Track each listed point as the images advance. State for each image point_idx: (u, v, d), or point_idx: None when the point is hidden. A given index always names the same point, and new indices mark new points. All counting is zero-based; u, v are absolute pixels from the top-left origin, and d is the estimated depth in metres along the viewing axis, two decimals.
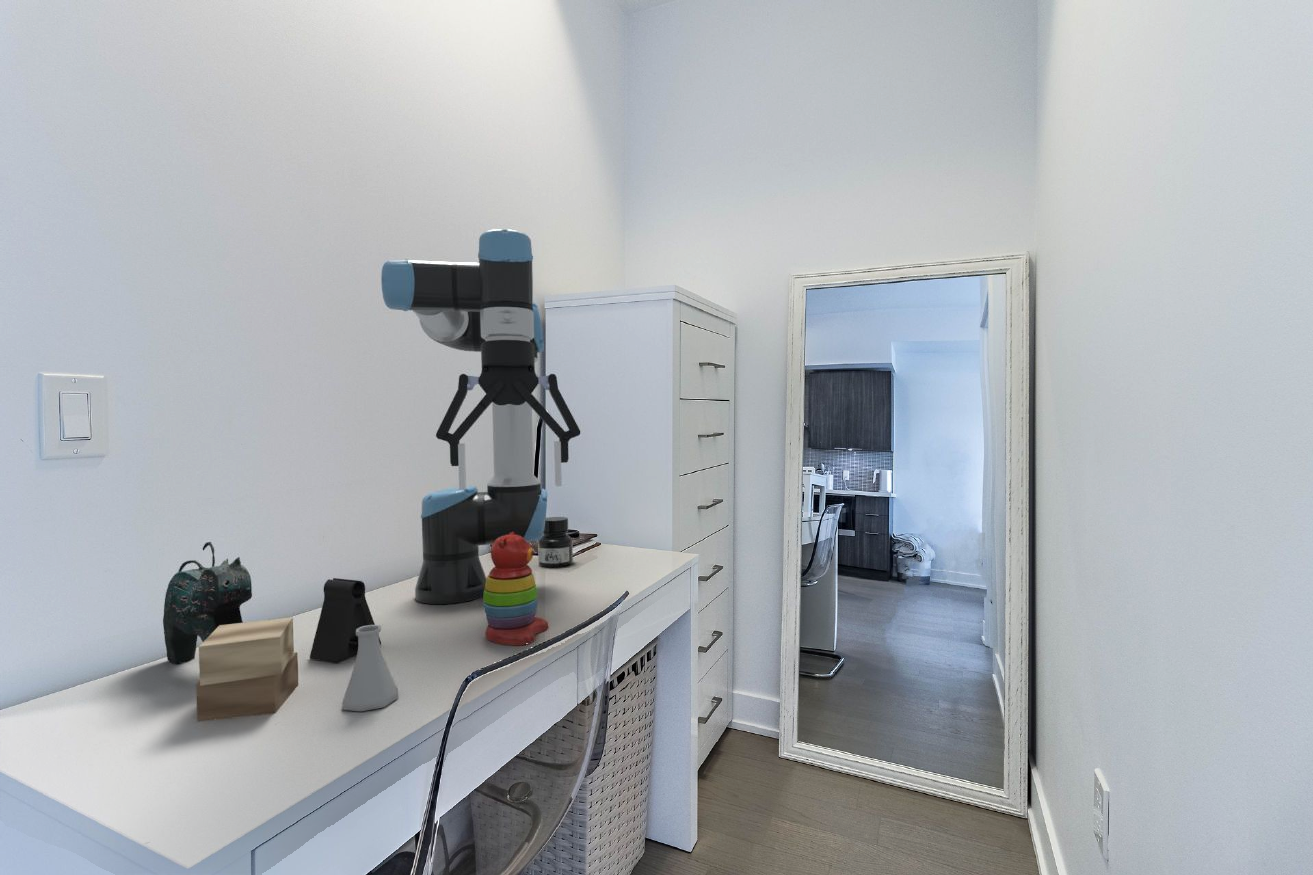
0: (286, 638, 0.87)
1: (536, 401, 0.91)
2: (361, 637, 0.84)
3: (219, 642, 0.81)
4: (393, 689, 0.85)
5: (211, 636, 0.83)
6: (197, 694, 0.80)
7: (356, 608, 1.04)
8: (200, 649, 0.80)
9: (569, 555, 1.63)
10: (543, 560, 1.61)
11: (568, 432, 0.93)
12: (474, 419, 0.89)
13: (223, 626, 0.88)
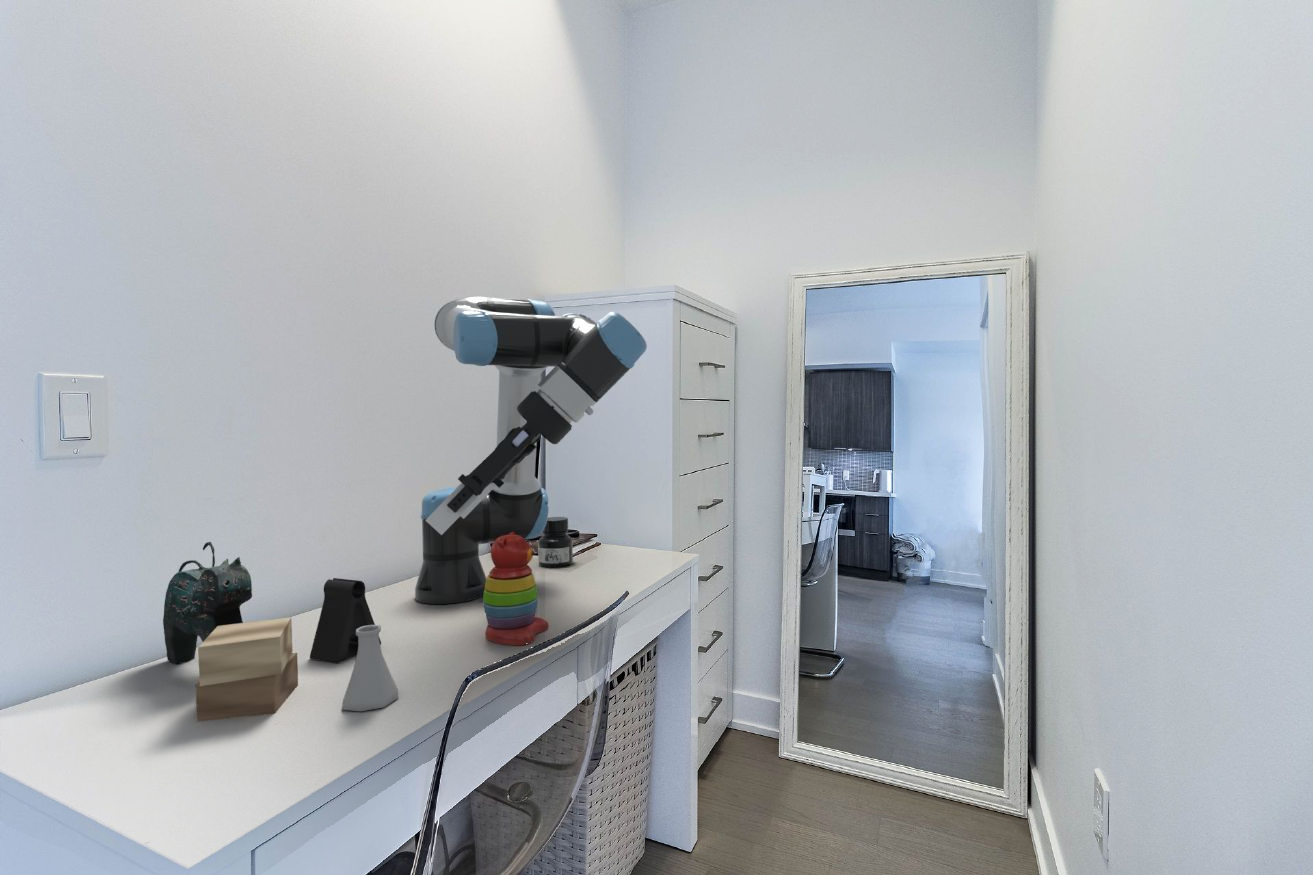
0: (285, 638, 0.87)
1: None
2: (361, 637, 0.84)
3: (218, 642, 0.81)
4: (393, 689, 0.85)
5: (210, 637, 0.83)
6: (197, 694, 0.80)
7: (357, 608, 1.04)
8: (200, 649, 0.80)
9: (569, 555, 1.63)
10: (543, 560, 1.61)
11: None
12: (498, 475, 0.81)
13: (221, 626, 0.87)
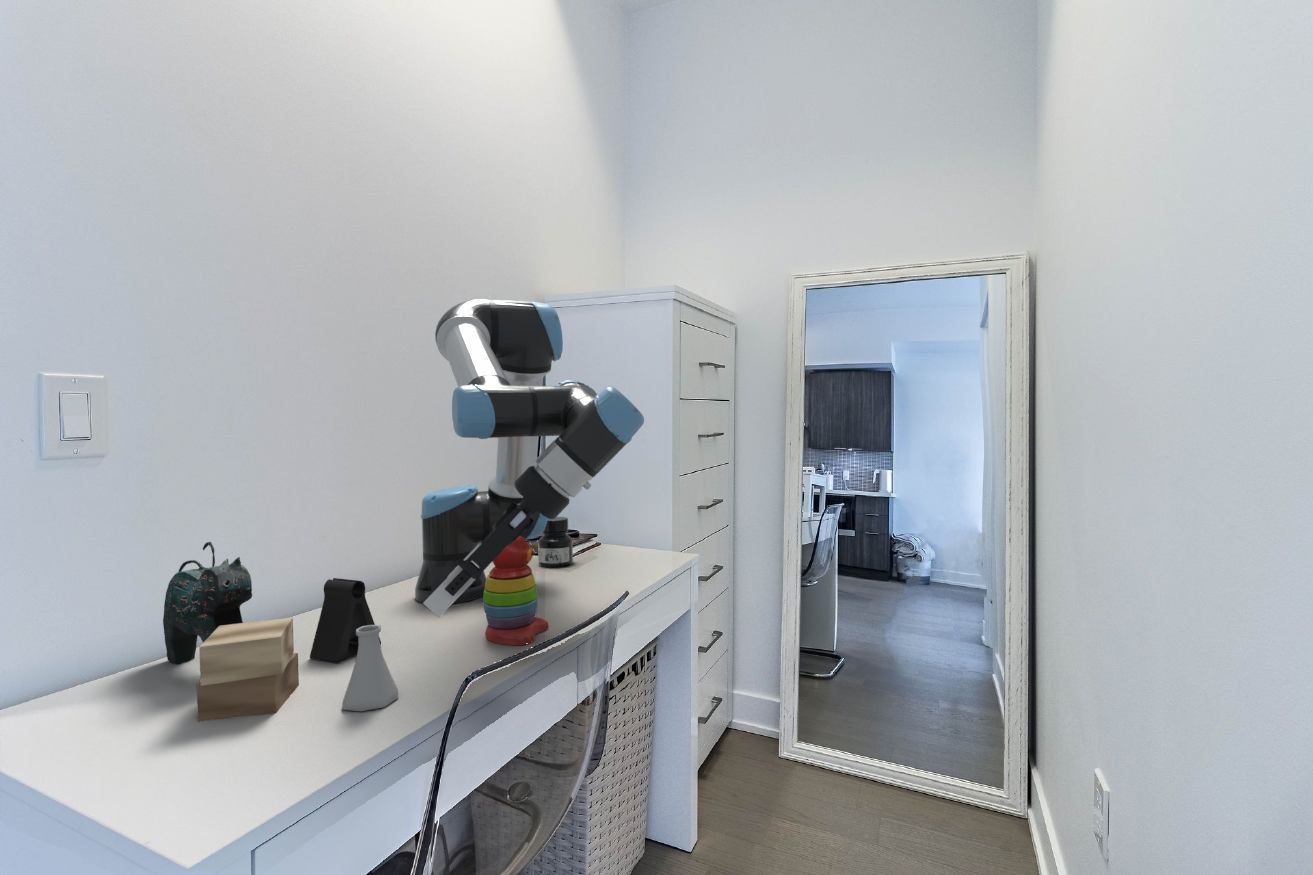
0: (286, 638, 0.87)
1: None
2: (361, 637, 0.84)
3: (219, 642, 0.81)
4: (393, 689, 0.85)
5: (211, 636, 0.84)
6: (198, 694, 0.80)
7: (357, 608, 1.04)
8: (201, 649, 0.80)
9: (569, 555, 1.63)
10: (543, 560, 1.61)
11: None
12: None
13: (223, 626, 0.88)
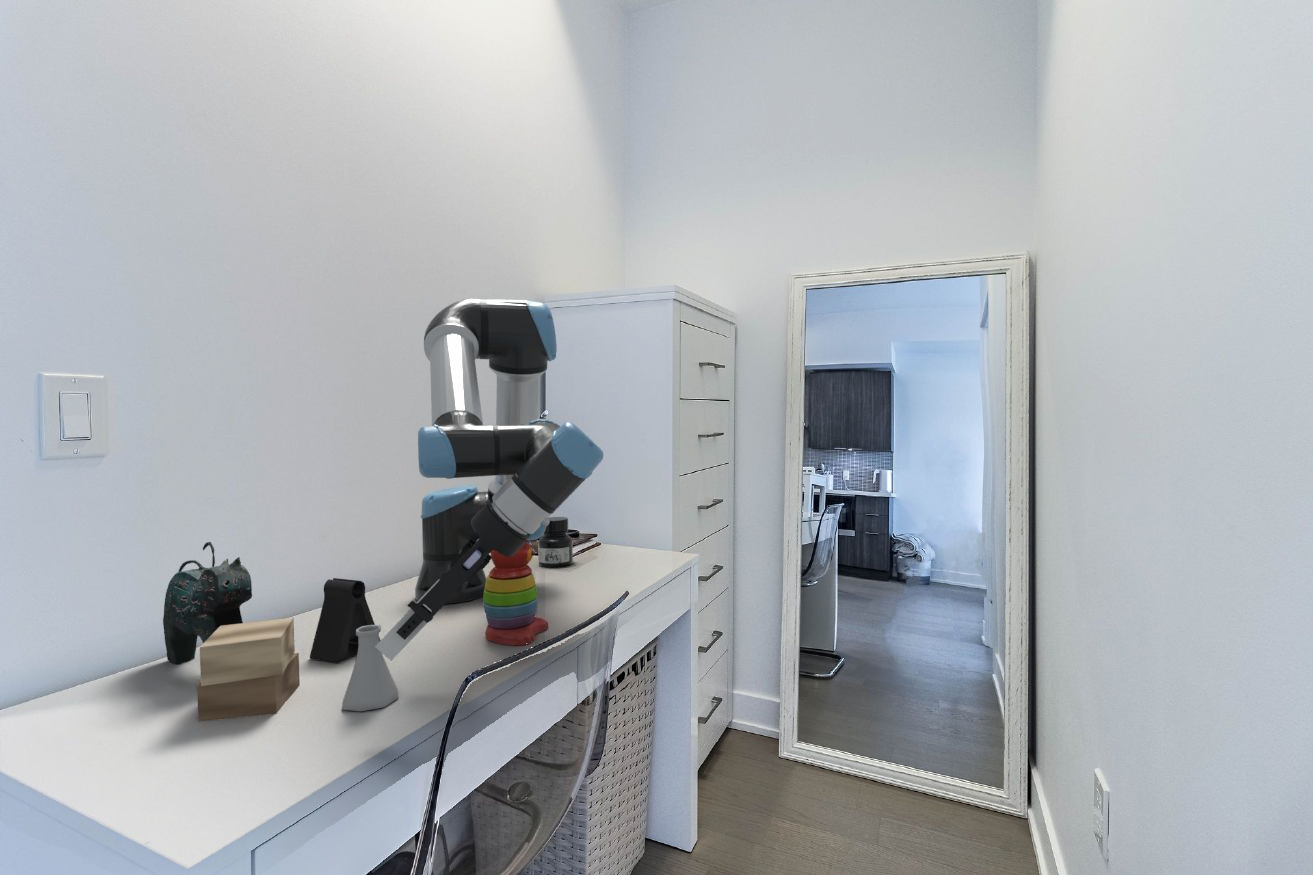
0: (287, 638, 0.87)
1: None
2: (361, 637, 0.84)
3: (220, 643, 0.81)
4: (393, 689, 0.85)
5: (212, 636, 0.83)
6: (198, 695, 0.80)
7: (356, 608, 1.04)
8: (201, 649, 0.80)
9: (569, 555, 1.63)
10: (543, 560, 1.62)
11: None
12: None
13: (224, 626, 0.88)
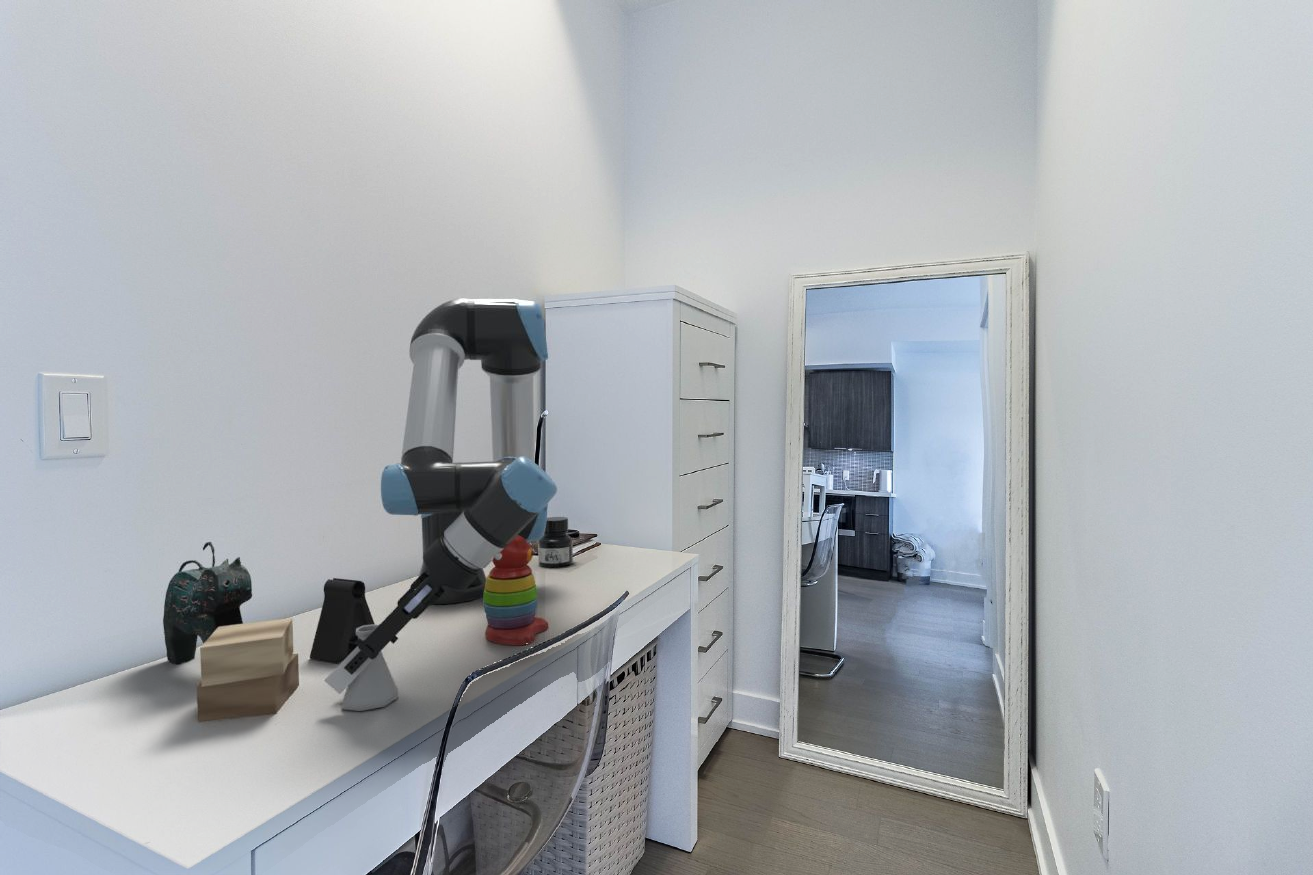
0: (287, 638, 0.87)
1: None
2: (361, 637, 0.84)
3: (220, 643, 0.81)
4: (393, 689, 0.85)
5: (211, 637, 0.83)
6: (198, 695, 0.80)
7: (357, 608, 1.04)
8: (202, 650, 0.80)
9: (569, 555, 1.63)
10: (543, 560, 1.62)
11: None
12: None
13: (222, 627, 0.87)
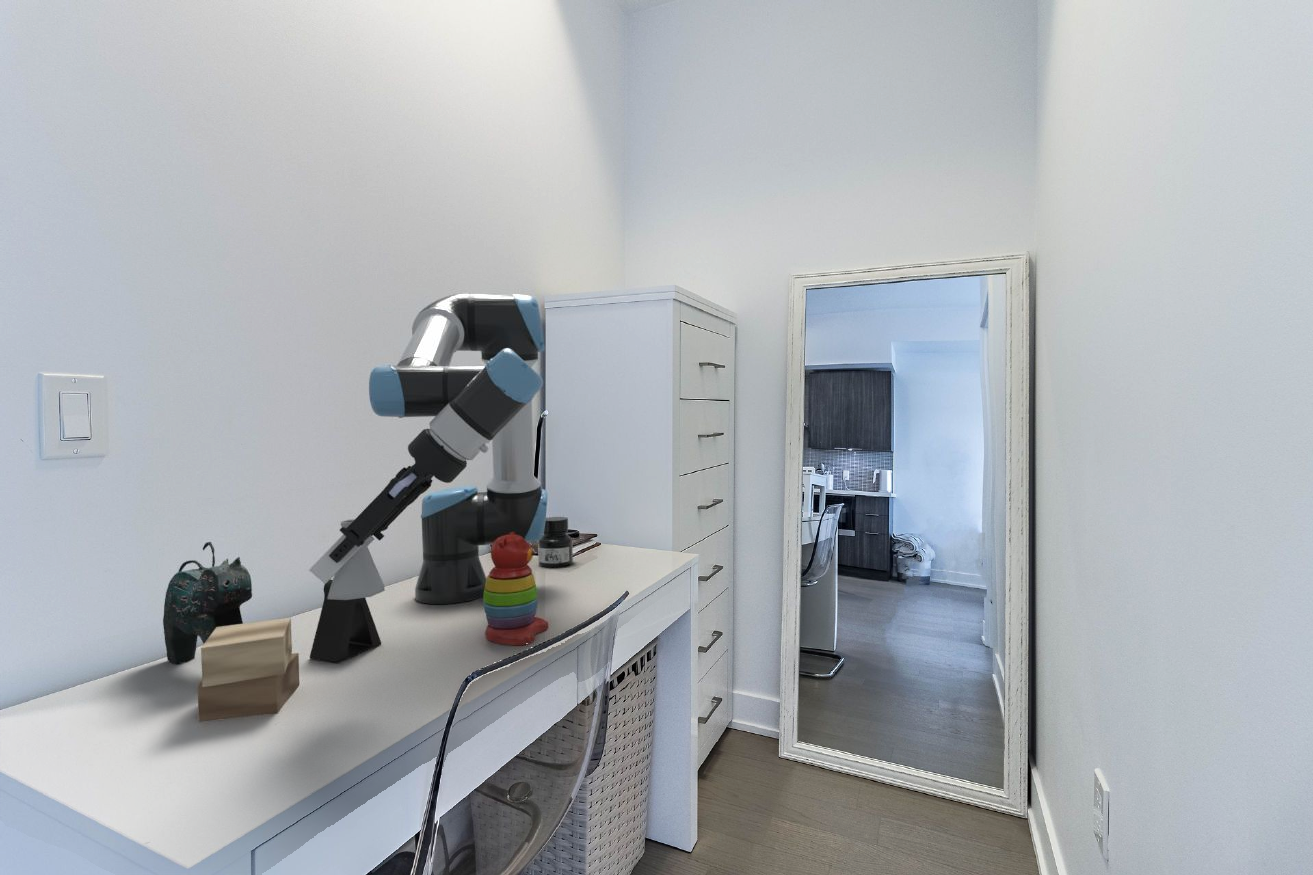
0: (287, 638, 0.87)
1: None
2: None
3: (221, 643, 0.81)
4: (379, 582, 0.85)
5: (211, 638, 0.83)
6: (199, 695, 0.80)
7: (357, 608, 1.04)
8: (202, 650, 0.79)
9: (569, 555, 1.63)
10: (543, 560, 1.61)
11: None
12: (385, 520, 0.83)
13: (220, 627, 0.87)
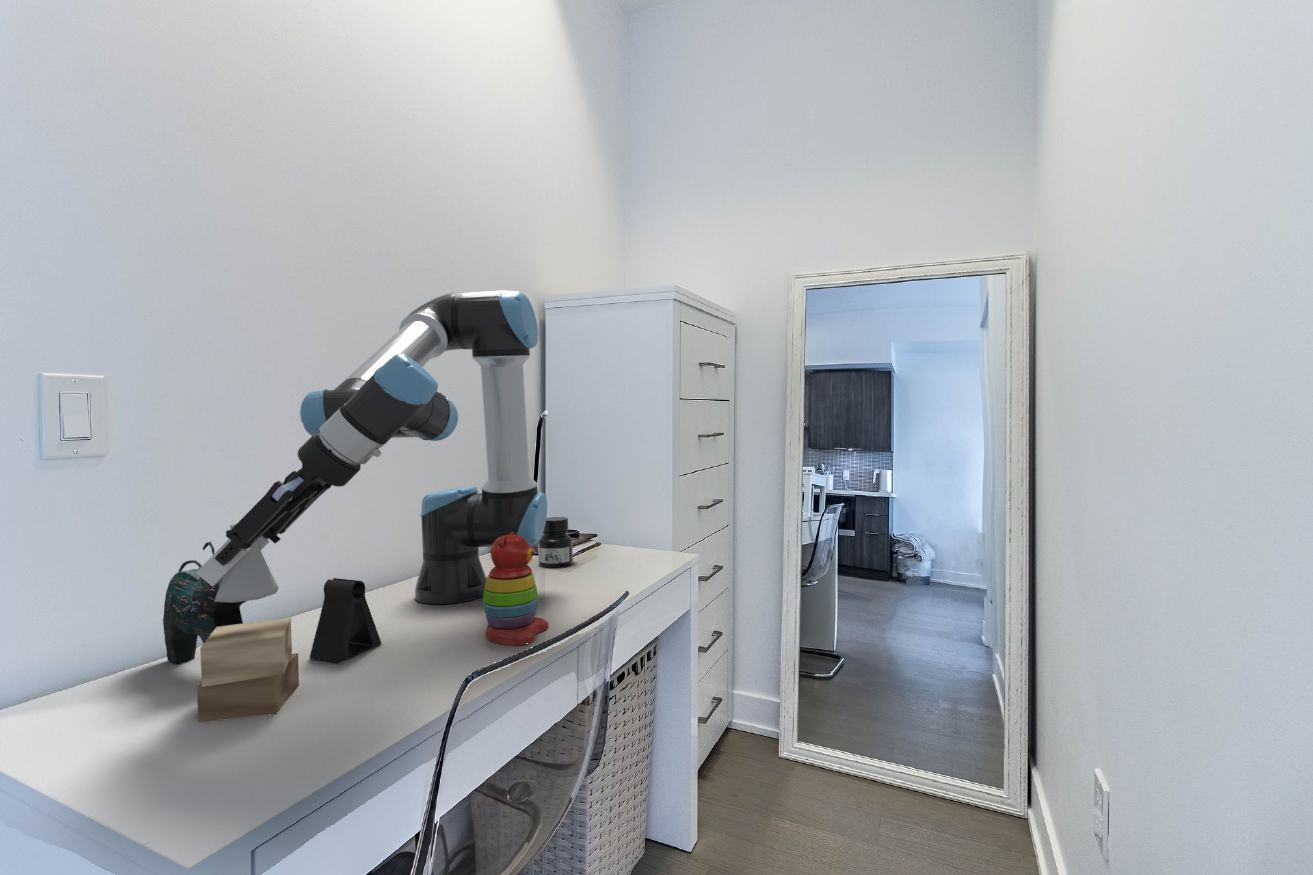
0: (286, 638, 0.87)
1: (306, 506, 0.88)
2: None
3: (220, 643, 0.81)
4: (270, 585, 0.85)
5: (211, 637, 0.83)
6: (198, 695, 0.80)
7: (357, 608, 1.04)
8: (202, 650, 0.79)
9: (569, 555, 1.63)
10: (543, 560, 1.62)
11: None
12: (274, 523, 0.83)
13: (220, 627, 0.87)
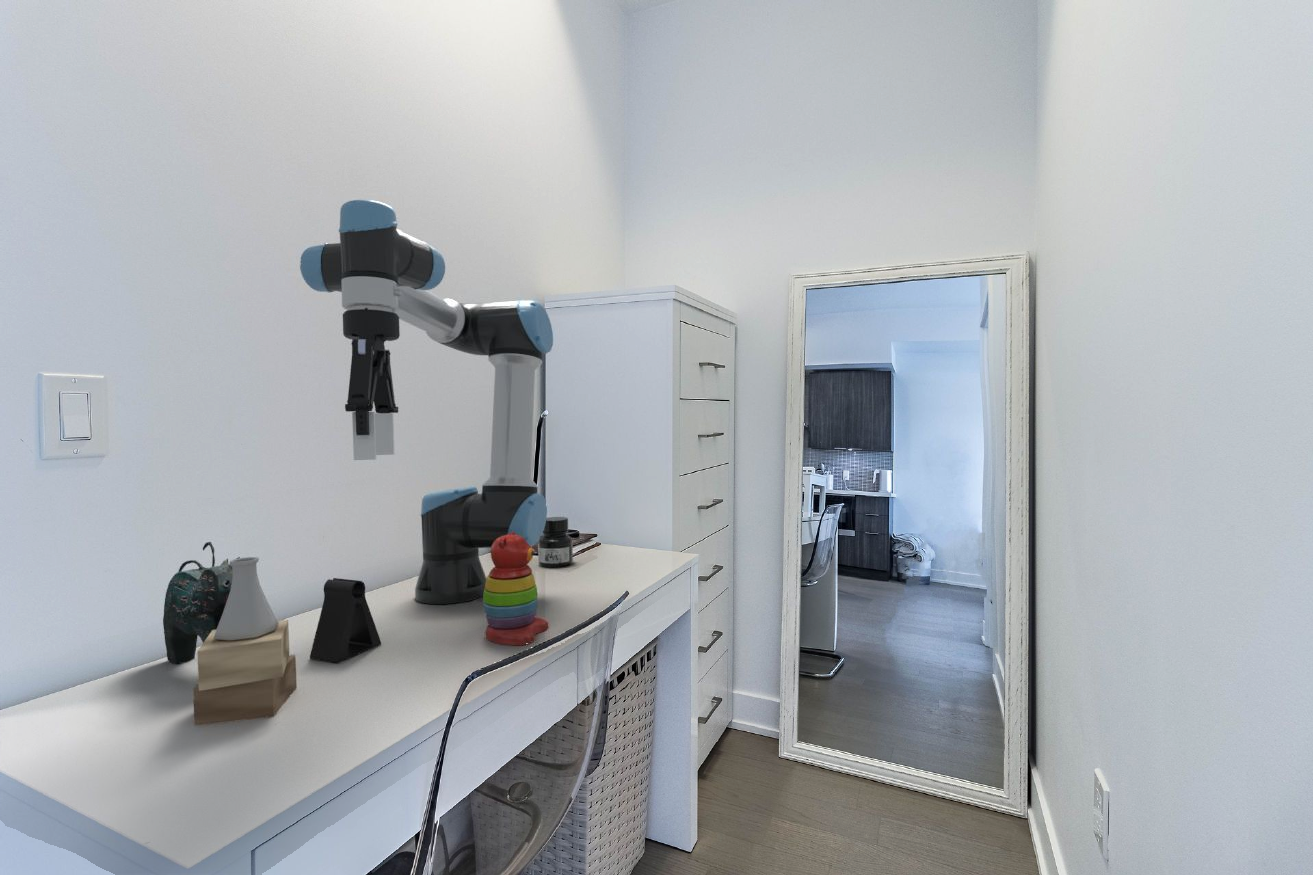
0: (284, 641, 0.86)
1: None
2: (235, 567, 0.83)
3: (218, 646, 0.80)
4: (269, 621, 0.84)
5: (207, 641, 0.82)
6: (194, 698, 0.79)
7: (357, 608, 1.04)
8: (199, 654, 0.78)
9: (569, 555, 1.63)
10: (543, 560, 1.62)
11: None
12: (375, 387, 0.87)
13: None
